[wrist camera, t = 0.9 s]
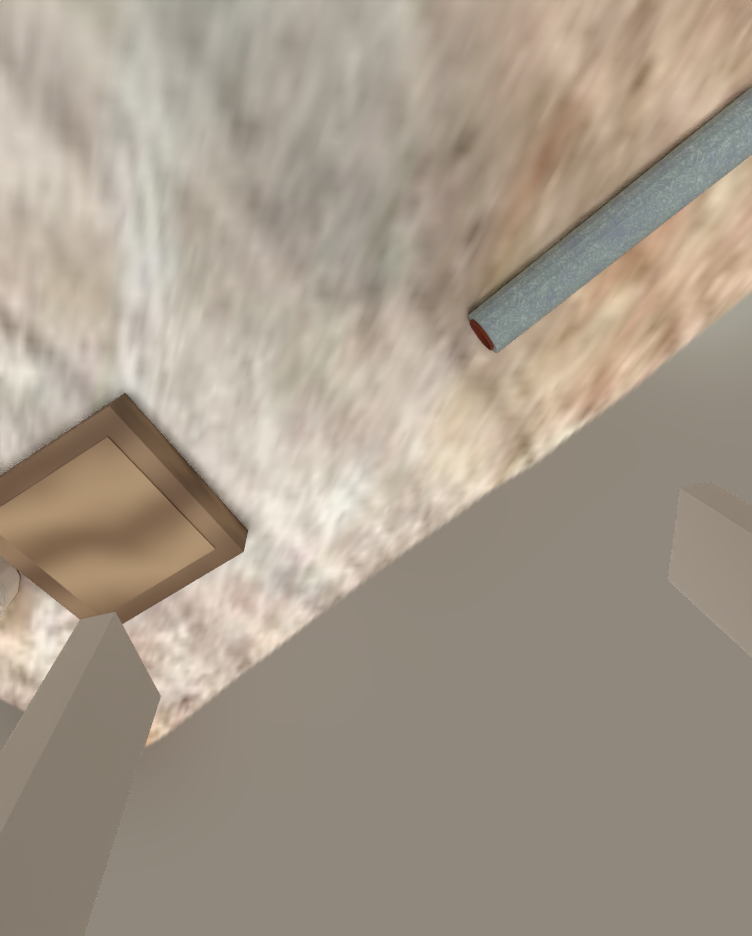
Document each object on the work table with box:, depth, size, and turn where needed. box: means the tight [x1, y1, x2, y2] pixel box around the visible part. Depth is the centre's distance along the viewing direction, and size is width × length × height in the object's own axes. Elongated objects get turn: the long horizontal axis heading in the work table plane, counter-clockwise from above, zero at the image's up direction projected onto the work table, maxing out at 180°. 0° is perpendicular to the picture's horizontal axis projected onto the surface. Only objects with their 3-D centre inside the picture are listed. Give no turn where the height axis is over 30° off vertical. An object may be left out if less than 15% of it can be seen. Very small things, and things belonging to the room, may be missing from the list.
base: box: [0, 393, 248, 624], centre depth 36 cm, size 14×14×3 cm
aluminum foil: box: [468, 87, 752, 353], centre depth 33 cm, size 23×7×3 cm, turn 128°
